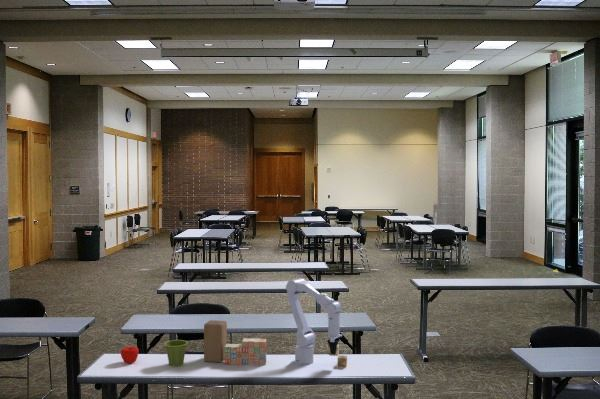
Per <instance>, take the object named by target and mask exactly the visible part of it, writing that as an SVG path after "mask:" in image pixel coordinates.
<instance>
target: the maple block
mask: <svg viewBox="0 0 600 399" xmlns="http://www.w3.org/2000/svg"><path fill="white" fill-rule="evenodd" d="M339 351H340V345H339V343H338V344H337V348H336V353H335V354H331V351H330V347H329V346H328V356H333V357H335V356H336V357H338V355H340V354H339V353H340V352H339Z"/></svg>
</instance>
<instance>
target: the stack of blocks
mask: <svg viewBox="0 0 600 399" xmlns="http://www.w3.org/2000/svg"><path fill="white" fill-rule="evenodd" d="M266 364H267V338H244V337H243V339H242V342H241V343H227V344H226V346H225V359H224V365H231V366H233V365H234V366H235V365H237V366H238V365H239V366H240V365H243V366H246V365H247V366H266Z"/></svg>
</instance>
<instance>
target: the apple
mask: <svg viewBox="0 0 600 399" xmlns="http://www.w3.org/2000/svg"><path fill="white" fill-rule="evenodd" d="M138 356H139V348H138V347H137V346H126V347H123V348H121V350H120V358H121V359H122V361H123V362H124V363H125V364H133V363H135V362H136V361H137V359H138Z"/></svg>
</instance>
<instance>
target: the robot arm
mask: <svg viewBox="0 0 600 399" xmlns="http://www.w3.org/2000/svg"><path fill="white" fill-rule="evenodd" d="M285 289H286V297H287V298H286V299H287V301H288V304H289V306H290V310H291V313H292V316H293V319H294V321H295V324H296V328H297V331H296V334H295V335H296V342H297V345H296V346H295V350H294V355H295V356H294V357H295V358H294V364H295V365H309V364H313V363H314V346H315V343H316V342H317V335H316V333H315V332H314V331H313V329H312V328H311V327H310V326H309V325H308V322H307V319H306V316H305V314H304V311H303V307H302V304H301V302H300V299H299V297H300V295H301V293H302V292H305V293H306V294H308V295H310V296H311V297H313V298H314V299H315V301H316V303H317V304H319V305H320V306H321V307H323V308H324V309H325V311H326V313H327V318H328V319H327V322H328V325H327V326H328V329H327V337H328V339H327V344H328V348H329V347H330V351H331V354H335V353H336V348H337V344H339V342H340V339H341V338H342V337H343V334H340V333H341V331H340V326H341V325H340V323H341V322H340V319H341V318H340V317H341V316H340V312H342V309H343V306H342V304H341V302H340V301H338V300H334V298H331V297H329V295H328V294H327V293H323V292H322V293H320V292H319V291H318V290H316V289H315V288H314V287H313V286H312V285H311V284H309V283H308V281H307V280H305V278H302V277H299V278H296V279H290V280H288V281H287V283H286V285H285Z"/></svg>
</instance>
